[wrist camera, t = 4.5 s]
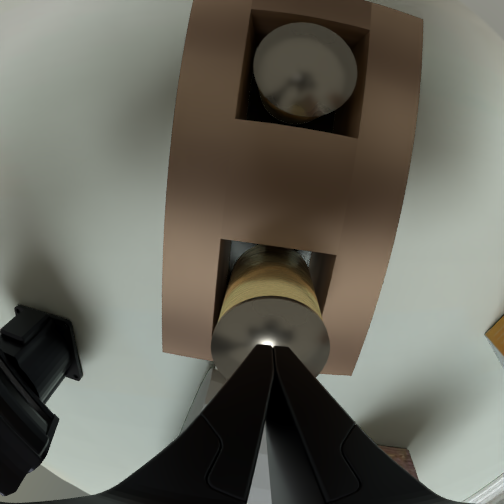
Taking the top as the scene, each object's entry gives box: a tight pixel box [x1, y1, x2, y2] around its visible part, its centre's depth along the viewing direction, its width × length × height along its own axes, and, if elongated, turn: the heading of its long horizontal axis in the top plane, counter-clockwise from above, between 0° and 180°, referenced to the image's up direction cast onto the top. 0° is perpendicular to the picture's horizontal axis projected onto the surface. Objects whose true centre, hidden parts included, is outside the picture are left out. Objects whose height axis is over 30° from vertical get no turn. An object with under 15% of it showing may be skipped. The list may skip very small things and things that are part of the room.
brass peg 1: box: [253, 22, 357, 124], centre depth 14 cm, size 4×4×6 cm
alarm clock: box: [180, 367, 272, 504], centre depth 20 cm, size 23×6×13 cm, turn 159°
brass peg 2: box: [211, 244, 330, 380], centre depth 14 cm, size 4×4×6 cm
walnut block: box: [162, 0, 423, 376], centre depth 16 cm, size 18×10×6 cm, turn 173°
